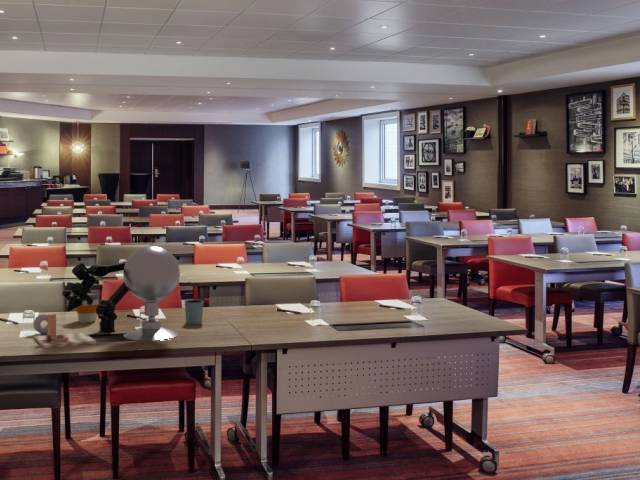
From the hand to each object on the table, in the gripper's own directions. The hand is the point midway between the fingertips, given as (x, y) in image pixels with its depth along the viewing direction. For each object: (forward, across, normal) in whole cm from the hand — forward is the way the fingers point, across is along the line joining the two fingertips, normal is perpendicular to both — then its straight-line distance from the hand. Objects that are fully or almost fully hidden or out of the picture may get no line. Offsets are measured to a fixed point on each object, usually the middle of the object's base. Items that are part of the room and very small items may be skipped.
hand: (67, 311), depth 412 cm
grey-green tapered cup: (-39, +15, +60) cm, 72 cm away
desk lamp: (-14, +23, +34) cm, 43 cm away
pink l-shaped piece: (+14, +3, +2) cm, 15 cm away
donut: (+11, -17, +8) cm, 22 cm away
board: (+13, +5, +6) cm, 15 cm away
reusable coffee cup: (-13, -29, +33) cm, 46 cm away
